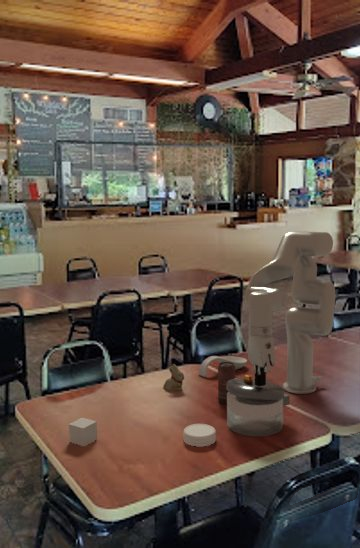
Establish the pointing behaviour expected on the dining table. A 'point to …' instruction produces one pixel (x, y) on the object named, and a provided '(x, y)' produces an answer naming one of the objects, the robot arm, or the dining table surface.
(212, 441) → the white short cylinder
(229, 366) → the can
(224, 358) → the spoon rest
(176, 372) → the chocolate bunny
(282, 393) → the lid
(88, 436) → the light grey cube
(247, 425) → the round storage jar
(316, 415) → the dining table surface
